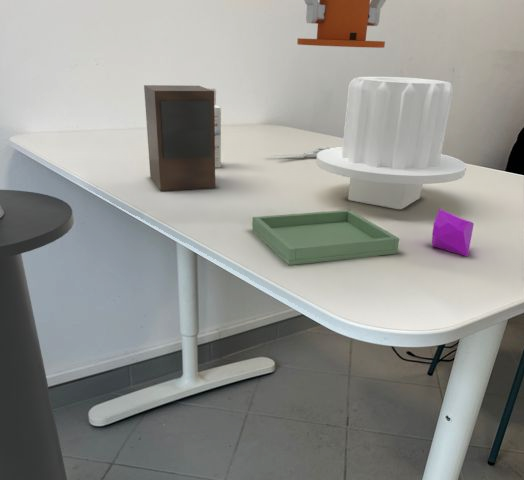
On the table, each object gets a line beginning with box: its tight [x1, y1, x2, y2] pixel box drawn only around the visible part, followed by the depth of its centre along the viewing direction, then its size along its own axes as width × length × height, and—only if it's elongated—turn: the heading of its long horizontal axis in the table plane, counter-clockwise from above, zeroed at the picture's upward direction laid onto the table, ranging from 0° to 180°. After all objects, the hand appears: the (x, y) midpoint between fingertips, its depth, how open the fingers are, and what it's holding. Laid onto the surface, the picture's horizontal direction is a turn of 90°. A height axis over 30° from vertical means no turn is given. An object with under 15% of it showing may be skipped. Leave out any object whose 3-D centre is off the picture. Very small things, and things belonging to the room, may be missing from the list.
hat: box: [296, 0, 386, 49], centre depth 61 cm, size 10×10×6 cm
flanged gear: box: [315, 75, 467, 210], centre depth 90 cm, size 25×25×19 cm
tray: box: [251, 209, 400, 266], centre depth 73 cm, size 16×14×2 cm
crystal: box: [431, 208, 474, 257], centre depth 72 cm, size 5×5×5 cm
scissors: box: [272, 146, 331, 160], centre depth 125 cm, size 11×1×20 cm
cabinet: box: [143, 84, 216, 192], centre depth 96 cm, size 10×10×16 cm
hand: (342, 24), depth 61 cm, fingers closed on hat, 5 cm apart
